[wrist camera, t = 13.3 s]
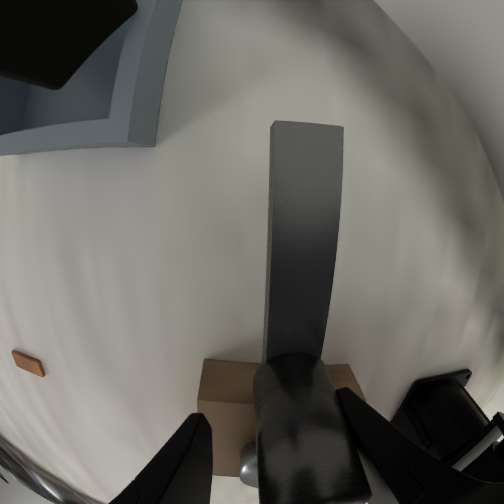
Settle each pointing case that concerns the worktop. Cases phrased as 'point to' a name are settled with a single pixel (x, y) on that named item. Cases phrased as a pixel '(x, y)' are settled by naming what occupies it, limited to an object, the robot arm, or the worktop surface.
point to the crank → (301, 331)
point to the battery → (55, 36)
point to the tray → (97, 92)
